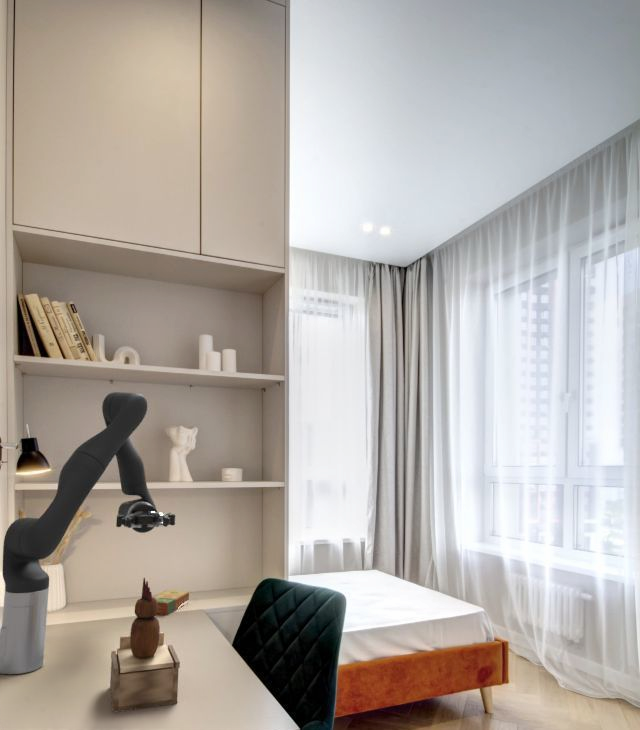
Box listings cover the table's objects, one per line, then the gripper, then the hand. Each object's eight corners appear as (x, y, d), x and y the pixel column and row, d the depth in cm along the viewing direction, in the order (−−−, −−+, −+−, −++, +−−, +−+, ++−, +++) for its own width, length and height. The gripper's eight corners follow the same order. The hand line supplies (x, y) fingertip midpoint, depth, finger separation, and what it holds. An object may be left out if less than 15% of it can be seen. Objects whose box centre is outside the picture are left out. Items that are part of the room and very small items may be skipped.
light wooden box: (111, 712, 112) (114, 669, 113) (108, 687, 124) (111, 649, 125) (178, 702, 117) (179, 661, 118) (169, 680, 129) (171, 642, 130)
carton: (189, 604, 197) (189, 590, 198) (167, 616, 181) (168, 602, 182) (165, 602, 199) (166, 589, 199) (142, 615, 183) (143, 600, 184)
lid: (120, 673, 114) (121, 655, 114) (116, 652, 126) (117, 636, 126) (173, 666, 117) (174, 649, 118) (165, 647, 129) (165, 631, 130)
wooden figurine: (129, 651, 124) (133, 576, 126) (157, 649, 125) (161, 575, 128) (129, 662, 117) (133, 583, 120) (159, 659, 119) (162, 581, 121)
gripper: (115, 502, 157) (118, 507, 142) (170, 501, 162) (178, 506, 147) (113, 532, 156) (116, 539, 141) (168, 530, 161) (177, 537, 146)
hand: (148, 522), depth 144 cm, fingers open, 8 cm apart
